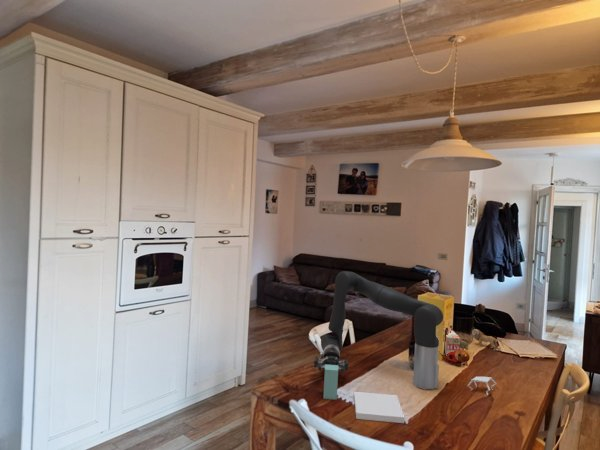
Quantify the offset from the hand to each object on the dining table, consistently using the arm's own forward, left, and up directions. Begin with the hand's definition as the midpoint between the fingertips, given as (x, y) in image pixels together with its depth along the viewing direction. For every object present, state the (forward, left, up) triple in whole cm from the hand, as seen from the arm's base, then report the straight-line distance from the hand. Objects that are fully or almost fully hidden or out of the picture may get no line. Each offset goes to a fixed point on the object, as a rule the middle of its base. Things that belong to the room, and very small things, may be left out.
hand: (331, 370), depth 154 cm
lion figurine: (-85, -66, -7) cm, 107 cm away
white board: (-17, +15, -7) cm, 24 cm away
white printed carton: (-60, -49, -7) cm, 78 cm away
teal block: (0, +8, -7) cm, 11 cm away
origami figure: (-63, -8, -7) cm, 64 cm away
